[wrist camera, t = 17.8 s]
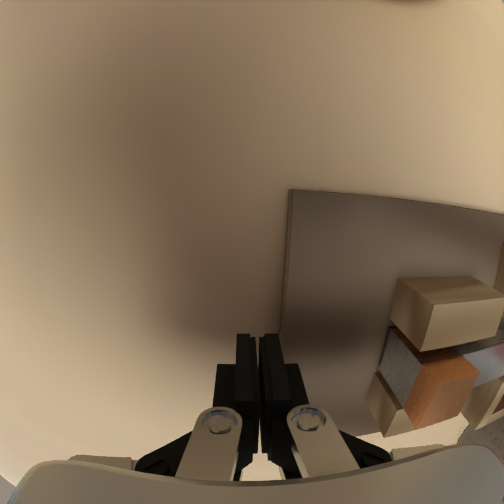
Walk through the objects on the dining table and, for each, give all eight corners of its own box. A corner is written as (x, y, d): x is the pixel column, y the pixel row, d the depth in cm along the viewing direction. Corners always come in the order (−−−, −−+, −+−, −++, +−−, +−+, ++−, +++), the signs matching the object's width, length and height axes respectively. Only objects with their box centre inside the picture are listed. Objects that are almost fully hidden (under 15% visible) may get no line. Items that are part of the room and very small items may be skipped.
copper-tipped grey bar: (390, 328, 12) (438, 385, 8) (502, 313, 12) (546, 344, 8) (378, 369, 13) (415, 429, 8) (490, 346, 13) (529, 381, 9)
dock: (289, 189, 12) (316, 197, 7) (561, 228, 12) (597, 240, 8) (269, 433, 15) (275, 491, 11) (517, 374, 16) (542, 398, 12)
